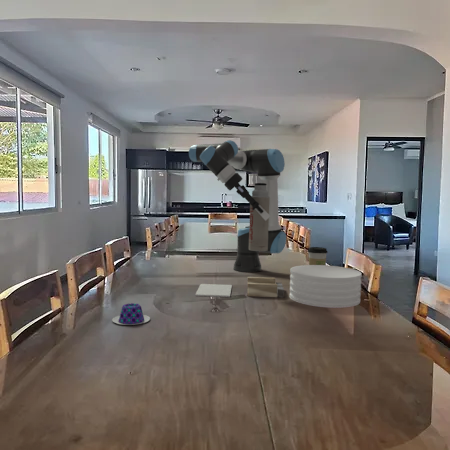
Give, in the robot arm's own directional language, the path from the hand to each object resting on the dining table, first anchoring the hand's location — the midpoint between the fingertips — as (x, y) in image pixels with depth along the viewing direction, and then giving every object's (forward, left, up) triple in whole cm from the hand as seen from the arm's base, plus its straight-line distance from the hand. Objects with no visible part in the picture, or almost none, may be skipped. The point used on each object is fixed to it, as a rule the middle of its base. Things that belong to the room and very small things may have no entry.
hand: (267, 217), depth 178 cm
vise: (0, 0, -32) cm, 32 cm away
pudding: (+45, -45, -32) cm, 71 cm away
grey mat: (0, -21, -32) cm, 38 cm away
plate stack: (+6, +24, -32) cm, 40 cm away
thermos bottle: (0, -3, -14) cm, 14 cm away
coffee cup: (-37, +28, -32) cm, 56 cm away
